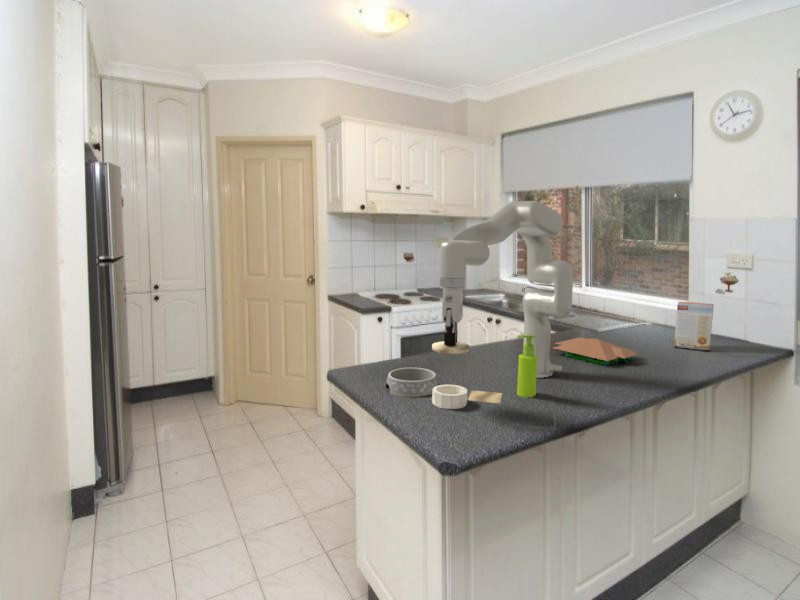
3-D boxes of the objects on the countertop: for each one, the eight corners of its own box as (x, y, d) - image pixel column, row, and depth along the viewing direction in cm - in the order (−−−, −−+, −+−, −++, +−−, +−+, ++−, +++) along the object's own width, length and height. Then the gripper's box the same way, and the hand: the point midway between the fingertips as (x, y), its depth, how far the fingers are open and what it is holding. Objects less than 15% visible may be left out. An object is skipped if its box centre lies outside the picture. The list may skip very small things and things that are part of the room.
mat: (502, 394, 167) (502, 393, 167) (500, 404, 158) (500, 403, 157) (471, 391, 170) (471, 390, 170) (467, 401, 160) (467, 400, 160)
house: (613, 370, 198) (614, 349, 196) (542, 353, 224) (543, 334, 222) (644, 361, 211) (645, 342, 210) (574, 346, 237) (575, 328, 236)
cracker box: (709, 349, 232) (714, 303, 229) (709, 352, 227) (714, 305, 224) (674, 345, 239) (678, 300, 236) (673, 347, 234) (677, 302, 231)
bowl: (468, 400, 161) (469, 386, 161) (463, 411, 151) (464, 396, 151) (436, 396, 164) (436, 383, 163) (429, 408, 154) (429, 393, 153)
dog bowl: (395, 400, 161) (395, 383, 160) (380, 383, 179) (380, 368, 178) (445, 395, 166) (446, 379, 165) (426, 379, 183) (427, 364, 183)
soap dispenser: (511, 392, 169) (514, 333, 166) (532, 392, 169) (535, 332, 166) (517, 398, 163) (519, 337, 160) (538, 398, 164) (541, 336, 161)
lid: (471, 346, 159) (472, 326, 158) (466, 355, 148) (467, 334, 147) (435, 343, 162) (436, 324, 161) (428, 352, 151) (429, 331, 150)
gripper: (461, 287, 143) (459, 351, 146) (468, 281, 159) (466, 339, 162) (434, 285, 145) (433, 349, 148) (445, 280, 161) (443, 337, 163)
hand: (450, 343), depth 155 cm, fingers closed on lid, 3 cm apart
